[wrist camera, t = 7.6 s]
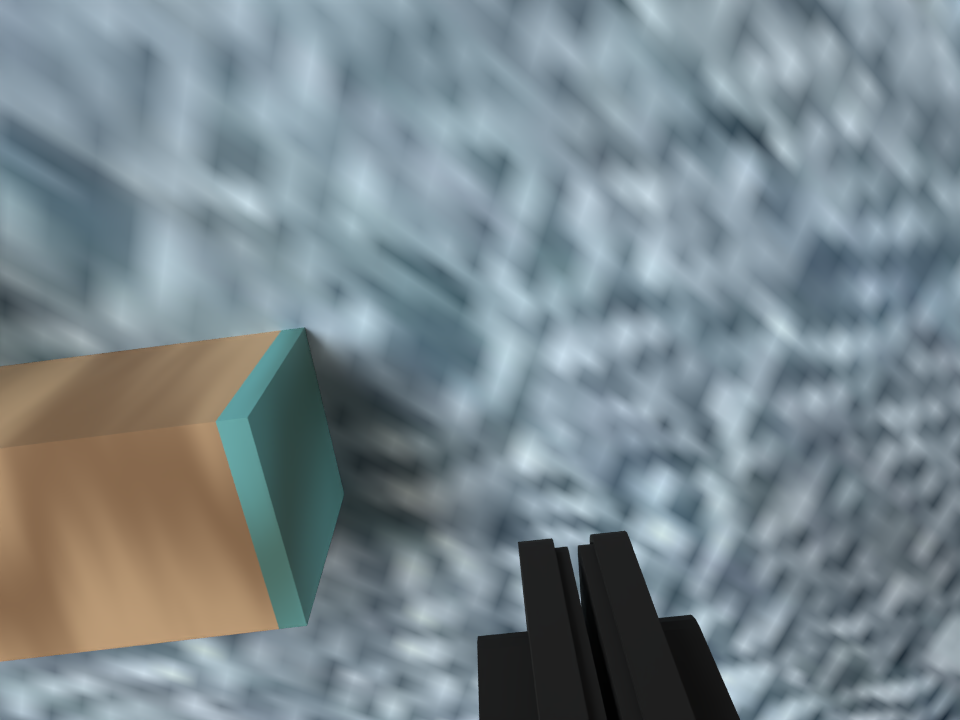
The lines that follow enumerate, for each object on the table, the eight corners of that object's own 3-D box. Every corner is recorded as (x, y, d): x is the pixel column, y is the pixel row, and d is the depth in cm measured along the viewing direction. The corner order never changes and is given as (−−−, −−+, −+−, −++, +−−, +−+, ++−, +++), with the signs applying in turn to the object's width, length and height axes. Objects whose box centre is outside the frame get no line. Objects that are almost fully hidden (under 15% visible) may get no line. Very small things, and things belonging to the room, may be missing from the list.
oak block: (304, 327, 17) (-80, 376, 18) (247, 417, 13) (-274, 482, 13) (344, 494, 19) (-4, 536, 19) (307, 625, 15) (-149, 679, 15)
